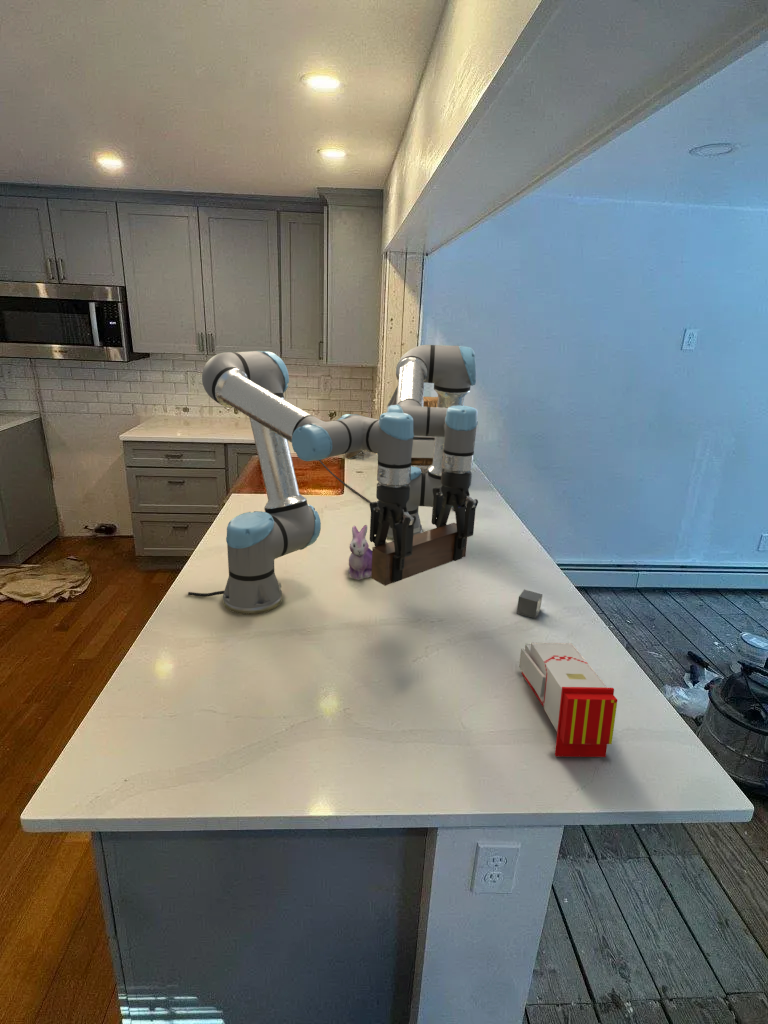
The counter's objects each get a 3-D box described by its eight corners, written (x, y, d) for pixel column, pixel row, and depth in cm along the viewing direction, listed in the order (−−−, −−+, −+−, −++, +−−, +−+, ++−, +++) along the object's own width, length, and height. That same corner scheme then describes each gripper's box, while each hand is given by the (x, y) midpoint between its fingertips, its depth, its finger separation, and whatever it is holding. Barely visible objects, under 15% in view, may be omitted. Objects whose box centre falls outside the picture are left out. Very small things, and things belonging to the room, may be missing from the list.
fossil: (345, 441, 314) (366, 425, 309) (355, 454, 317) (377, 439, 312) (338, 454, 294) (361, 438, 289) (350, 469, 297) (372, 453, 292)
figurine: (354, 583, 162) (355, 534, 157) (340, 569, 171) (341, 522, 166) (383, 577, 167) (385, 530, 161) (368, 563, 175) (369, 518, 170)
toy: (567, 625, 127) (627, 695, 97) (561, 680, 130) (618, 764, 100) (513, 624, 126) (557, 694, 97) (508, 679, 129) (550, 763, 100)
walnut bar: (371, 578, 135) (372, 547, 132) (451, 550, 152) (454, 522, 150) (384, 586, 131) (386, 554, 129) (465, 556, 149) (468, 528, 146)
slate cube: (516, 613, 151) (518, 596, 149) (521, 605, 155) (524, 589, 153) (535, 618, 148) (537, 601, 147) (540, 610, 152) (542, 594, 151)
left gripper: (355, 475, 131) (353, 566, 139) (408, 496, 118) (402, 595, 126) (380, 471, 136) (376, 559, 144) (434, 490, 123) (426, 586, 131)
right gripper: (420, 463, 144) (415, 547, 152) (474, 481, 132) (465, 571, 139) (441, 459, 149) (434, 541, 157) (495, 476, 136) (485, 564, 144)
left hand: (388, 576), depth 135 cm, fingers closed on walnut bar, 5 cm apart
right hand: (449, 555), depth 148 cm, fingers closed on walnut bar, 5 cm apart
